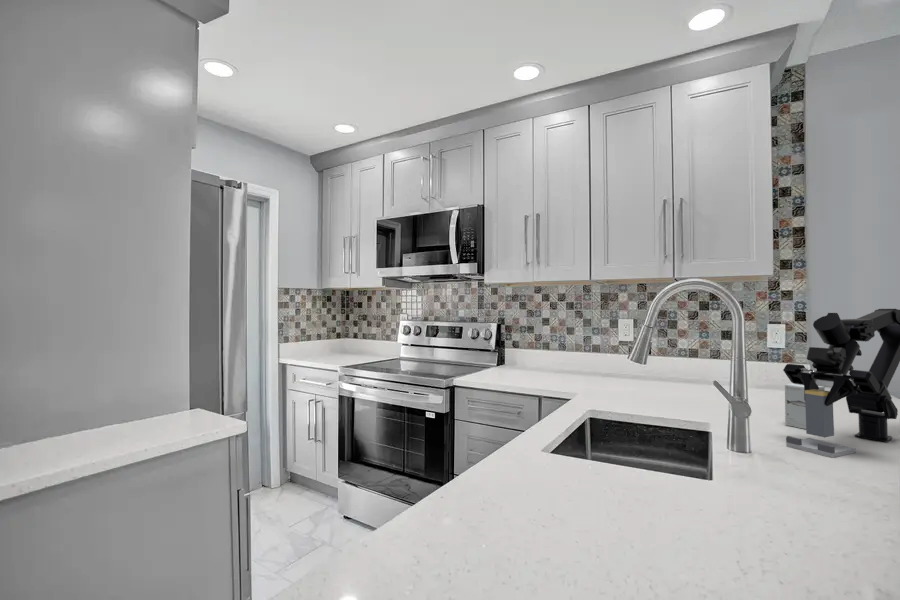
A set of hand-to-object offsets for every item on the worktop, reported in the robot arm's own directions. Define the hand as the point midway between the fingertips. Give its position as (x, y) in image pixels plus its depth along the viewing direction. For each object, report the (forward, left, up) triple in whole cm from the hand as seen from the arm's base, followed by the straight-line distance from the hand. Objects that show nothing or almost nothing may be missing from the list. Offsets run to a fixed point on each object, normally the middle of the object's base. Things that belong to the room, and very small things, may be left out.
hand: (815, 403), depth 111 cm
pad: (-1, 0, -12) cm, 12 cm away
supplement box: (-25, -9, -12) cm, 29 cm away
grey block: (-1, 0, -8) cm, 8 cm away
